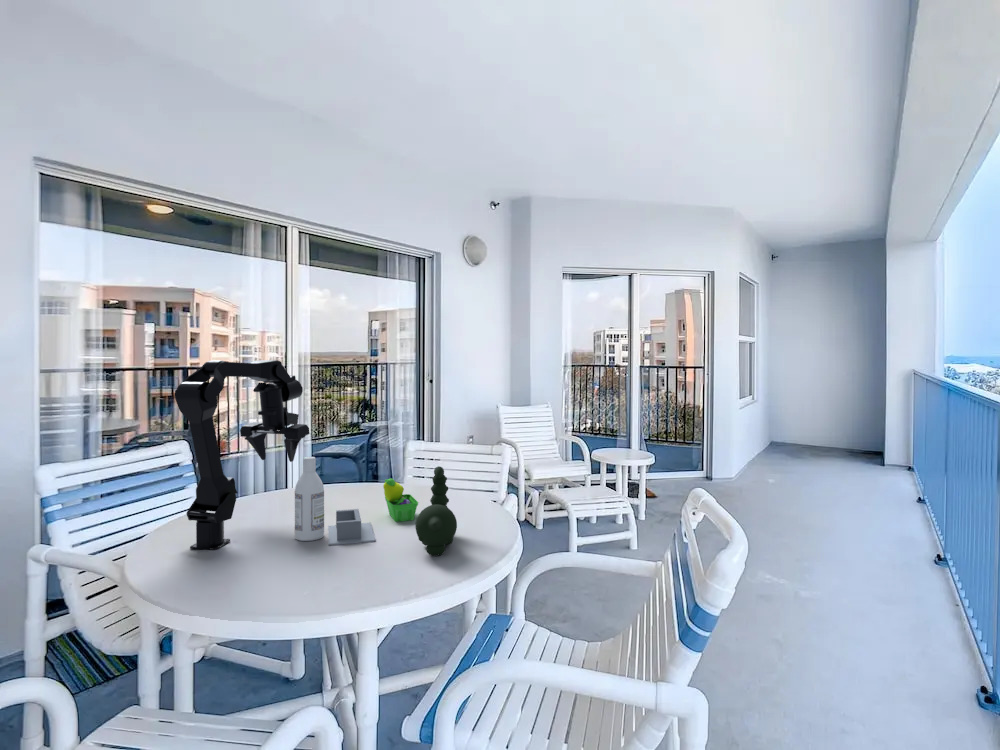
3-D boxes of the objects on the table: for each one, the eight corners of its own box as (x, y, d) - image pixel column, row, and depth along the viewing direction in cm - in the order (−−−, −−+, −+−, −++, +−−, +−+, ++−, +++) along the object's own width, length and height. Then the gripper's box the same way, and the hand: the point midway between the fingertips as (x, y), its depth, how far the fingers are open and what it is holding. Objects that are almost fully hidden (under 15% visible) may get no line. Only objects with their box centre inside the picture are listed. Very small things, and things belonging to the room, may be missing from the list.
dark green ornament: (421, 538, 148) (412, 563, 123) (421, 464, 150) (412, 474, 125) (457, 538, 149) (456, 562, 124) (458, 464, 150) (456, 474, 125)
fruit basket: (419, 521, 159) (419, 480, 159) (387, 524, 156) (387, 482, 156) (410, 511, 170) (410, 473, 170) (379, 513, 167) (379, 475, 166)
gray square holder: (328, 545, 137) (328, 525, 137) (328, 527, 153) (328, 509, 153) (375, 541, 140) (375, 521, 140) (370, 524, 156) (370, 506, 156)
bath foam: (326, 533, 147) (326, 455, 147) (321, 541, 141) (320, 459, 140) (298, 533, 147) (298, 455, 146) (291, 542, 140) (291, 460, 140)
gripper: (318, 400, 162) (323, 453, 165) (263, 399, 168) (268, 450, 170) (293, 408, 152) (299, 465, 154) (235, 407, 157) (242, 462, 160)
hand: (277, 460), depth 160 cm, fingers open, 9 cm apart
